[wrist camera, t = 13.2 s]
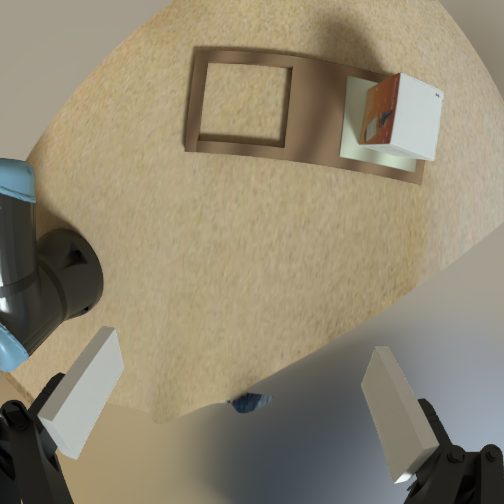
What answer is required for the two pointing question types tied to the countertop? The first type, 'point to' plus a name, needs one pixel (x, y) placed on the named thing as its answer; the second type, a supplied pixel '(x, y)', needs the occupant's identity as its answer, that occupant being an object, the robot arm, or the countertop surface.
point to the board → (308, 116)
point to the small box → (402, 118)
